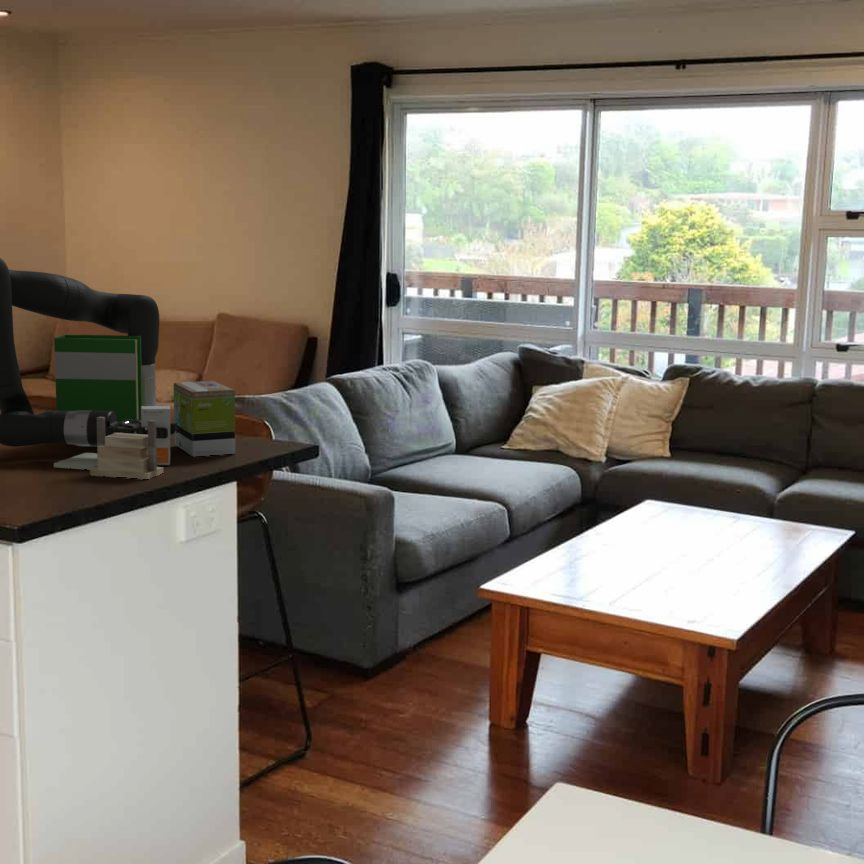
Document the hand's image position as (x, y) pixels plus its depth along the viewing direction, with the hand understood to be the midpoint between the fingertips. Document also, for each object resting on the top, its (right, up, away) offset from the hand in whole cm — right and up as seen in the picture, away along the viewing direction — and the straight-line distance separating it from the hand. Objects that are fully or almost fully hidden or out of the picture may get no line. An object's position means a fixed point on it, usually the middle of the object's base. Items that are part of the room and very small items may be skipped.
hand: (170, 430), depth 252 cm
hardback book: (-21, -3, +25) cm, 33 cm away
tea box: (+4, -5, +18) cm, 19 cm away
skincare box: (-3, -7, +1) cm, 8 cm away
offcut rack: (-6, -9, -10) cm, 15 cm away
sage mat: (-17, -7, 0) cm, 18 cm away
